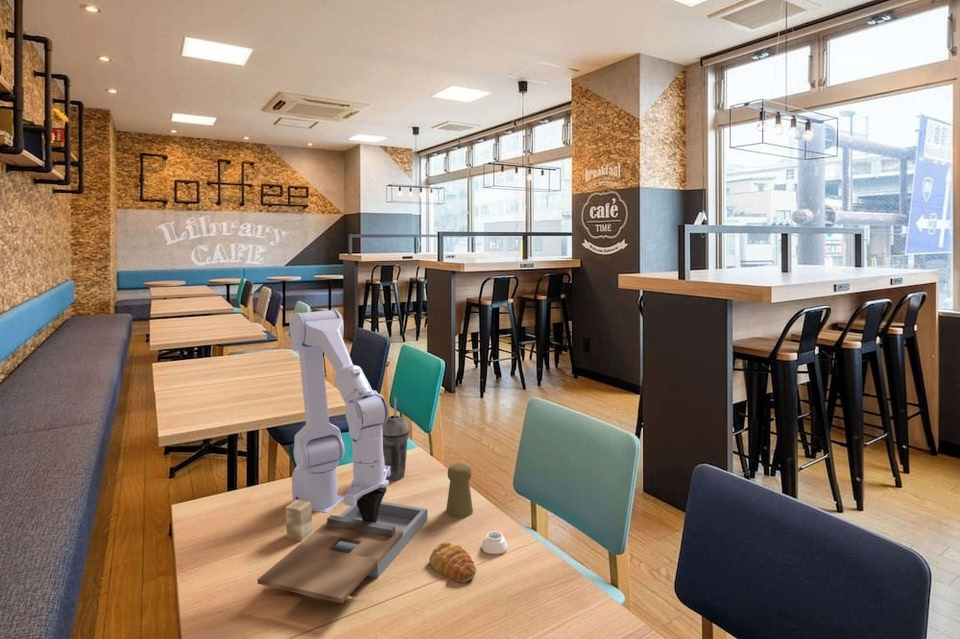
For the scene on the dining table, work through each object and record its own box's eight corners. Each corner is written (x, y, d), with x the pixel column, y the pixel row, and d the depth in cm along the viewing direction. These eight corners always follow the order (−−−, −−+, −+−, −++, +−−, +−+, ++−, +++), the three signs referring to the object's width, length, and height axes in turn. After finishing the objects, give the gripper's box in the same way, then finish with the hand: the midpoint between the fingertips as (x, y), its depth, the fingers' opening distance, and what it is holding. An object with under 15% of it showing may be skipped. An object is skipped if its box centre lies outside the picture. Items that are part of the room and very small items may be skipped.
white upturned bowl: (476, 547, 116) (492, 559, 112) (476, 533, 116) (492, 544, 112) (496, 539, 119) (512, 550, 115) (496, 526, 119) (512, 536, 115)
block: (287, 540, 118) (285, 507, 117) (297, 531, 122) (296, 499, 121) (302, 543, 117) (300, 510, 116) (312, 534, 121) (311, 502, 120)
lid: (257, 583, 99) (256, 571, 98) (330, 522, 119) (330, 511, 119) (342, 603, 94) (341, 589, 93) (403, 535, 114) (402, 524, 114)
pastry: (485, 576, 107) (485, 556, 106) (456, 590, 103) (455, 570, 102) (453, 554, 114) (453, 535, 114) (425, 567, 110) (424, 548, 109)
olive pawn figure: (474, 507, 133) (474, 460, 131) (471, 520, 127) (471, 471, 125) (448, 506, 133) (447, 459, 131) (443, 519, 127) (443, 470, 125)
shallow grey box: (300, 564, 110) (300, 549, 110) (360, 510, 131) (360, 497, 130) (377, 580, 105) (377, 564, 105) (427, 522, 126) (427, 509, 125)
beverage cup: (376, 481, 146) (374, 402, 143) (386, 469, 153) (384, 394, 150) (405, 483, 145) (403, 404, 142) (413, 471, 152) (412, 395, 149)
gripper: (368, 475, 106) (370, 546, 108) (403, 447, 119) (404, 510, 122) (333, 470, 108) (336, 540, 110) (372, 443, 122) (373, 505, 124)
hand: (369, 524), depth 116 cm, fingers closed
